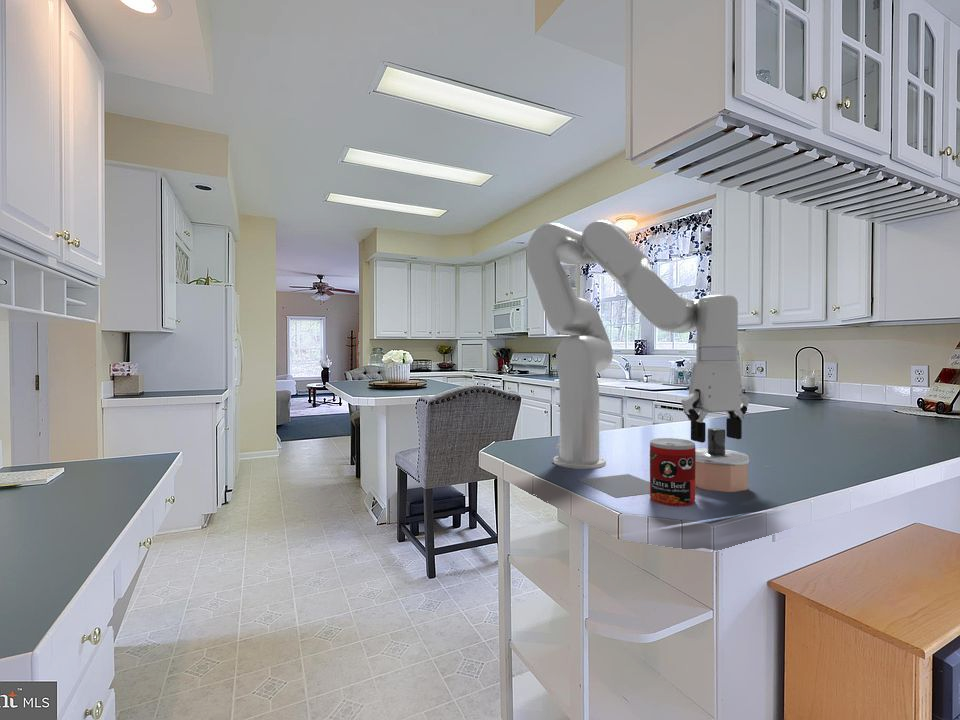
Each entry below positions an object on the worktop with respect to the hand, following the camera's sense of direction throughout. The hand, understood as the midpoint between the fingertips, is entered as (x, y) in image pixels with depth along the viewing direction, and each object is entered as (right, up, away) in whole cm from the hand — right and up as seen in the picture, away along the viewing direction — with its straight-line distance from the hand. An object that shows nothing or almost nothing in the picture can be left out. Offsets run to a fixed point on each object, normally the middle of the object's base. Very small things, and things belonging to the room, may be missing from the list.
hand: (716, 439), depth 95 cm
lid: (0, -4, 0) cm, 4 cm away
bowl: (0, -9, 0) cm, 9 cm away
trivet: (-19, -9, -1) cm, 22 cm away
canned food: (-13, -10, -10) cm, 19 cm away
